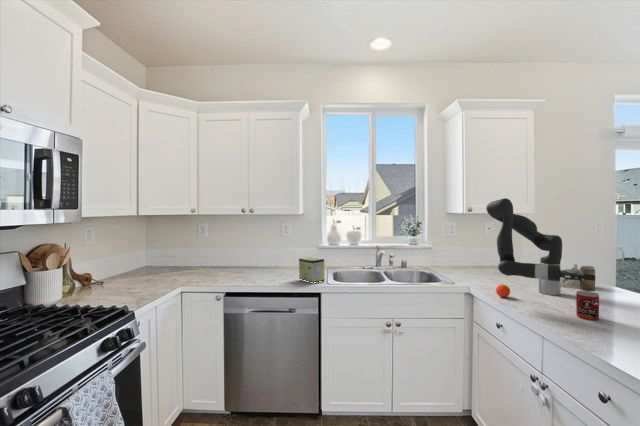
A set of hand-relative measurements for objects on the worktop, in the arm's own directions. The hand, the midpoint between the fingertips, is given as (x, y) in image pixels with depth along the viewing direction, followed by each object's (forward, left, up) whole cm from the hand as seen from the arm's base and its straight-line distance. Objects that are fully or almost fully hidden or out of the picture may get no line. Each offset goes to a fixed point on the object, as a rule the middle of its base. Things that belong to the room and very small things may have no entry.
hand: (595, 276), depth 138 cm
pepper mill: (-2, -1, -6) cm, 7 cm away
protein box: (-129, -75, -19) cm, 151 cm away
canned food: (-2, -1, -18) cm, 19 cm away
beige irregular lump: (-36, +60, -19) cm, 73 cm away
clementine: (-40, -1, -18) cm, 44 cm away
